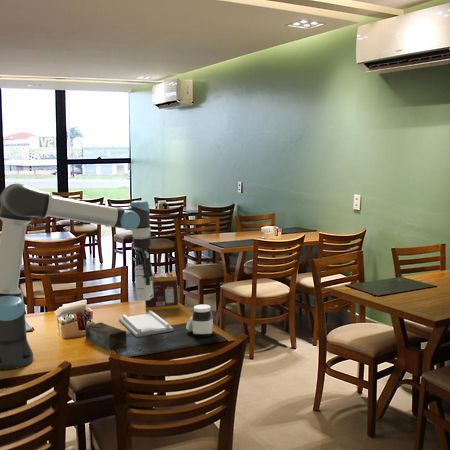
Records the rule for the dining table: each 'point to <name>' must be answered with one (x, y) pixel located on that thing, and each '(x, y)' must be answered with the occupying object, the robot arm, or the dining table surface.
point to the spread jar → (201, 321)
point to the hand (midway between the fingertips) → (144, 290)
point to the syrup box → (142, 284)
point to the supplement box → (163, 292)
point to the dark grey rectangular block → (106, 336)
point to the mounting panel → (145, 324)
